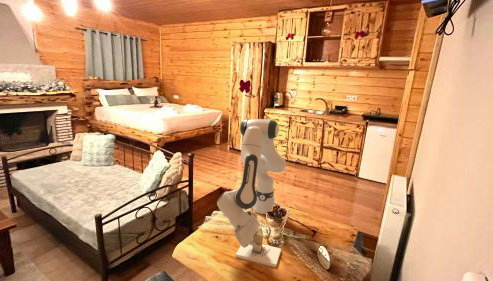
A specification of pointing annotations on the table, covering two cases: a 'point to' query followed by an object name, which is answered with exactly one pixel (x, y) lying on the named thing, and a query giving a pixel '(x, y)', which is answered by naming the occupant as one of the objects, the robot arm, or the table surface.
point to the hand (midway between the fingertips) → (258, 243)
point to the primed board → (267, 255)
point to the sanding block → (258, 243)
